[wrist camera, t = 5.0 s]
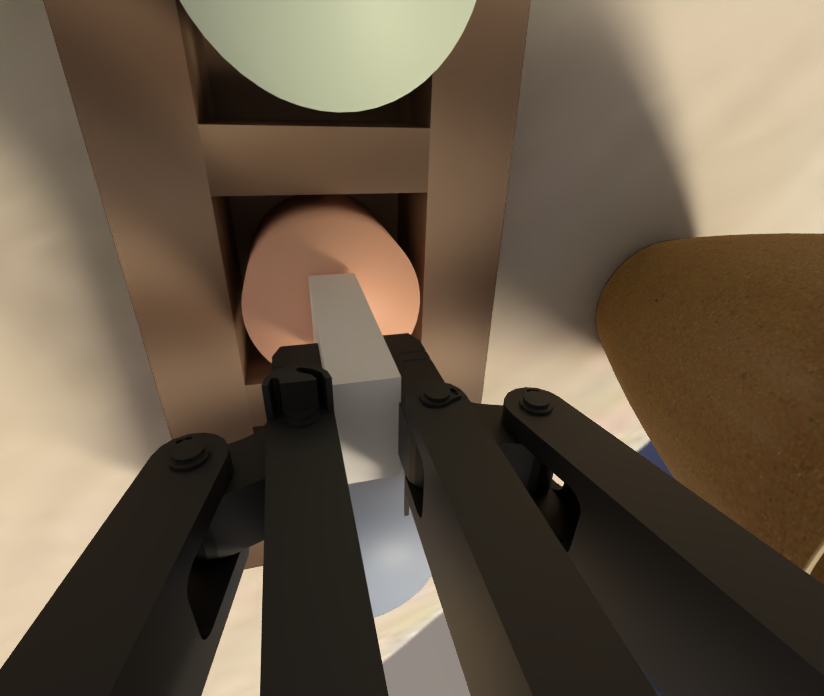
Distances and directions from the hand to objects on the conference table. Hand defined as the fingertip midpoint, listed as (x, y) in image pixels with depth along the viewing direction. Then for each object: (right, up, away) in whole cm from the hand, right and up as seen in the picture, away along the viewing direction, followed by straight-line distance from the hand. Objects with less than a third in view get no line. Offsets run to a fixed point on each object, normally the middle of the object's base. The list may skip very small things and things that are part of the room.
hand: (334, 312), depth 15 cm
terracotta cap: (-1, +2, +4) cm, 5 cm away
